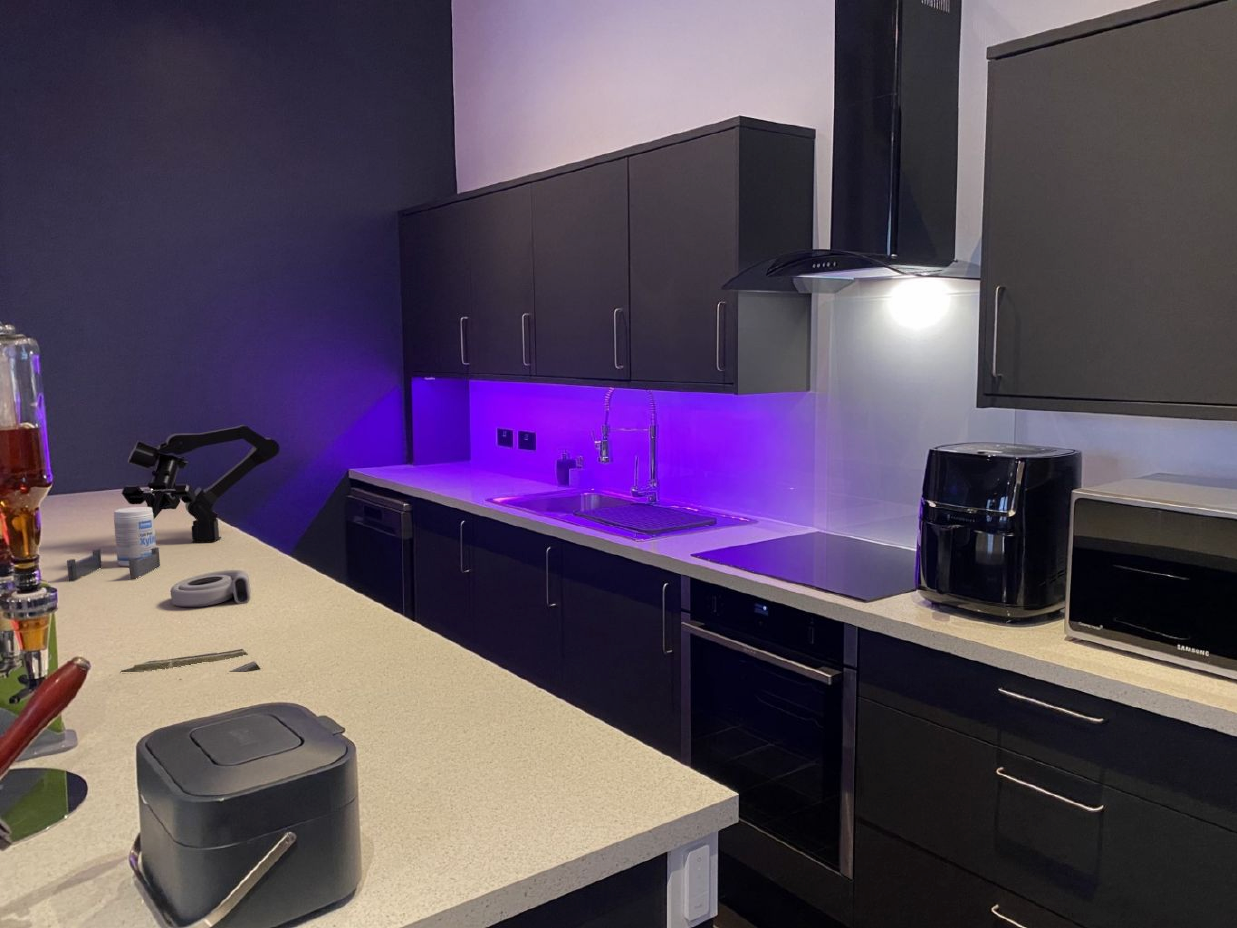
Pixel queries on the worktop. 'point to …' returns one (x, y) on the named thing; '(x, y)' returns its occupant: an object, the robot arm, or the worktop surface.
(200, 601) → the turbocharger housing
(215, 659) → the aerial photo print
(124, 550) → the supplement tub
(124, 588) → the worktop surface
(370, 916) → the worktop surface
